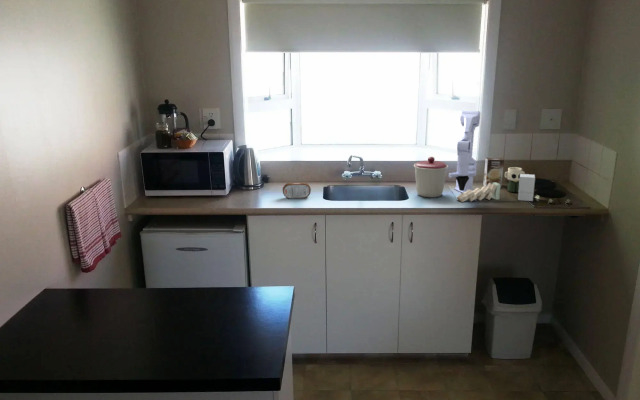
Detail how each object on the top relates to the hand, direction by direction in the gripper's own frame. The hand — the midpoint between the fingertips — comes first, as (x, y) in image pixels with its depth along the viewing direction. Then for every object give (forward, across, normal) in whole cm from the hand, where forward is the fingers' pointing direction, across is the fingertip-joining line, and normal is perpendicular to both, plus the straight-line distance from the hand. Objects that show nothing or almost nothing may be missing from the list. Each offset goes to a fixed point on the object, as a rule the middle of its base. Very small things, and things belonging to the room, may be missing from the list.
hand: (461, 190), depth 266 cm
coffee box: (+6, +33, +23) cm, 41 cm away
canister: (+6, -10, +16) cm, 19 cm away
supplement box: (+6, +34, -6) cm, 35 cm away
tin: (+6, -80, +31) cm, 86 cm away
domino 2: (+5, +4, 0) cm, 7 cm away
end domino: (+6, +20, 0) cm, 21 cm away
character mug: (+6, +37, +9) cm, 39 cm away
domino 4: (+6, +15, 0) cm, 16 cm away
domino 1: (+5, -1, 0) cm, 5 cm away
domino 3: (+5, +9, 0) cm, 11 cm away
